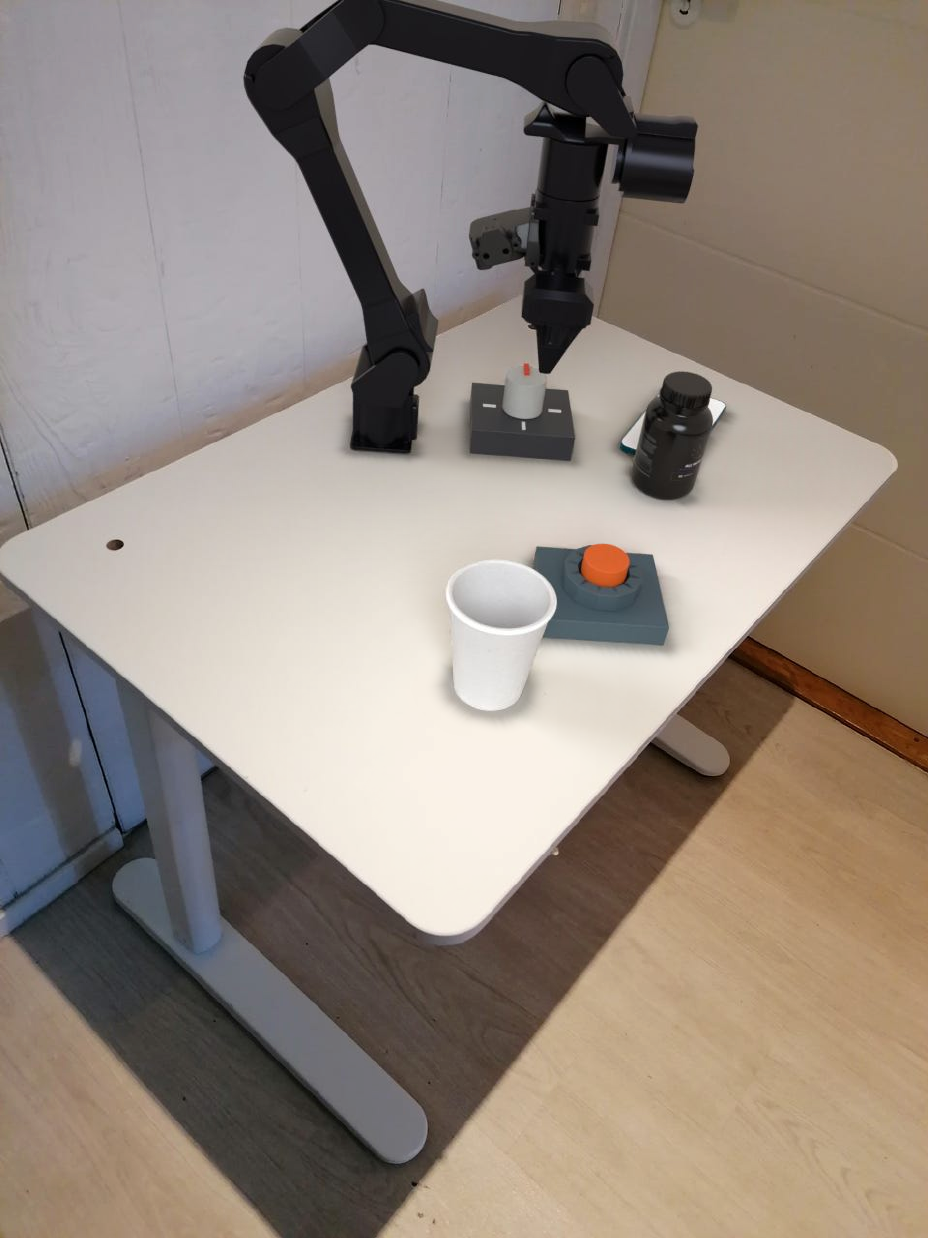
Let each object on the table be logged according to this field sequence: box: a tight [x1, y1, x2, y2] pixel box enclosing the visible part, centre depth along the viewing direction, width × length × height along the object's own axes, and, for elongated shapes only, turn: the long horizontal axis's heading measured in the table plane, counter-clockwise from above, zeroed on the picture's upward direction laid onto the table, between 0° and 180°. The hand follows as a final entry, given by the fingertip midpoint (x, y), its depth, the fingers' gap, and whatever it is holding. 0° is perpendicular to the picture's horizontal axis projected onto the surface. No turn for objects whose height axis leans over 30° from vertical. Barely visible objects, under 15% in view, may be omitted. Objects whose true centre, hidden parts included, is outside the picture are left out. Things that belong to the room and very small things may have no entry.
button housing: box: [532, 544, 670, 646], centre depth 87 cm, size 11×10×4 cm
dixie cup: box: [445, 558, 557, 712], centre depth 76 cm, size 8×8×10 cm
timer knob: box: [502, 362, 548, 419], centre depth 105 cm, size 4×4×4 cm
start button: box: [581, 543, 630, 587], centre depth 85 cm, size 4×4×2 cm
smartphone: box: [619, 393, 727, 457], centre depth 111 cm, size 8×1×16 cm
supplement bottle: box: [630, 370, 713, 501], centre depth 99 cm, size 7×7×12 cm
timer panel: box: [469, 382, 576, 462], centre depth 107 cm, size 11×10×3 cm
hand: (544, 350), depth 97 cm, fingers open, 9 cm apart
